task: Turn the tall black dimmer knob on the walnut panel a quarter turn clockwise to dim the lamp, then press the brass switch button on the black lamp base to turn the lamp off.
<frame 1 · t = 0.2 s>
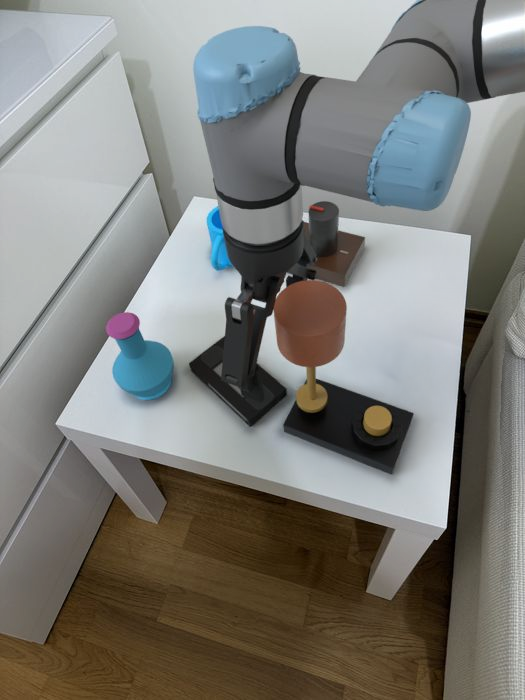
hand: (277, 353, 65), 15 cm above the table, tool pointing down, fingers open, 13 cm apart
dimmer panel: (323, 259, 94), on the table
switch: (377, 420, 69), point 5 cm above the table, slide at 0.1 cm
lamp: (311, 399, 73), resting on lamp base
lamp base: (347, 426, 74), on the table
vhs tape: (237, 383, 80), on the table
perfume bottle: (151, 382, 82), on the table
dimmer: (323, 228, 88), point 7 cm above the table, hinge at 0.0°
mug: (231, 259, 96), on the table
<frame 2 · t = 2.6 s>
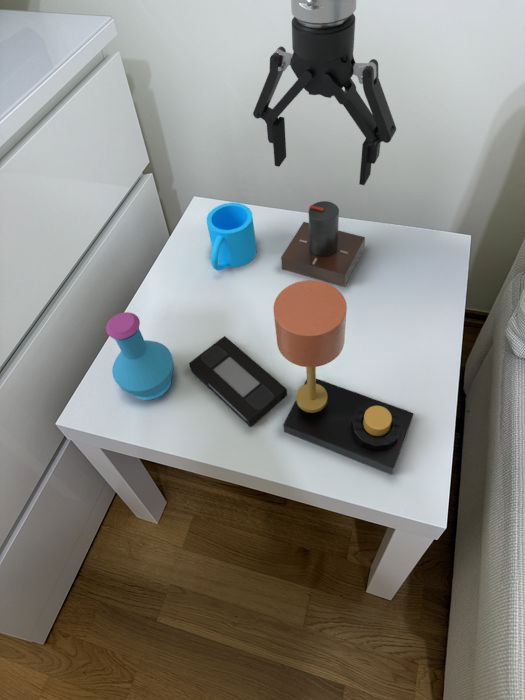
hand: (321, 170, 78), 19 cm above the table, tool pointing down, fingers open, 13 cm apart
nothing on the table moved.
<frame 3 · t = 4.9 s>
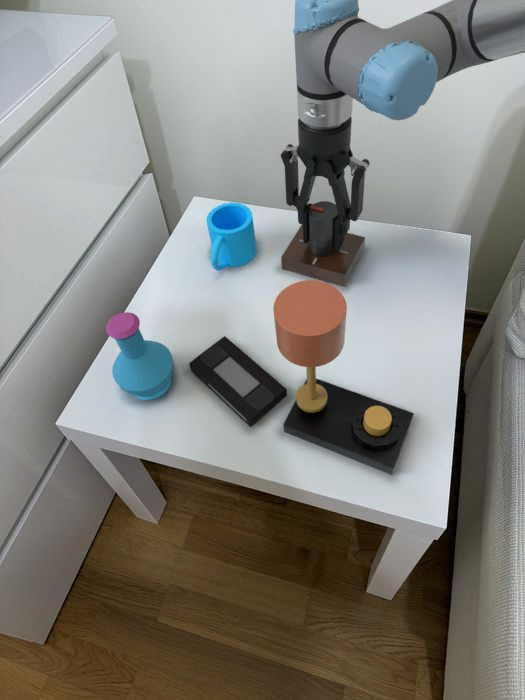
hand: (323, 241, 91), 4 cm above the table, tool pointing down, fingers closed on dimmer, 5 cm apart
dimmer: (323, 228, 88), point 7 cm above the table, hinge at 0.0°, touching gripper
everything else where it was.
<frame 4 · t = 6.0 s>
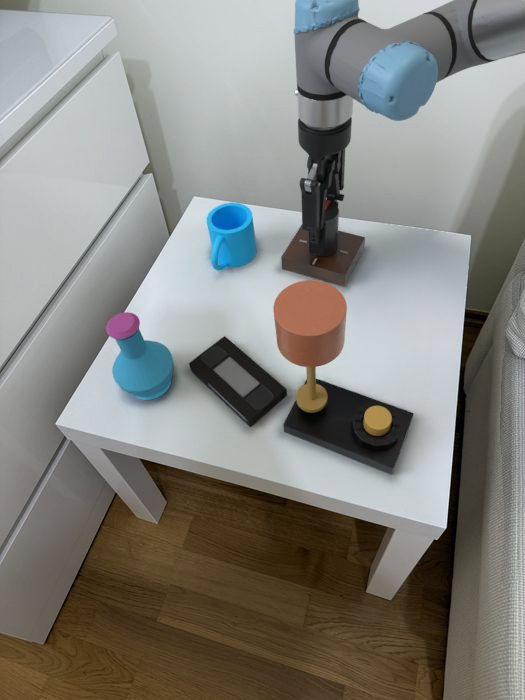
hand: (323, 241, 91), 4 cm above the table, tool pointing down, fingers closed on dimmer, 5 cm apart
dimmer: (323, 228, 88), point 7 cm above the table, hinge at -89.4°, touching gripper
everything else where it was.
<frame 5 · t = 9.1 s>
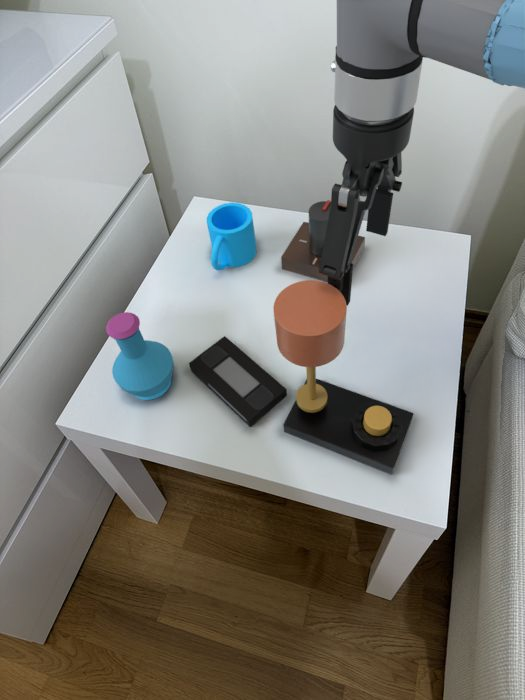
hand: (358, 264, 66), 19 cm above the table, tool pointing down, fingers open, 12 cm apart
dimmer: (323, 228, 88), point 7 cm above the table, hinge at -89.5°
everything else where it was.
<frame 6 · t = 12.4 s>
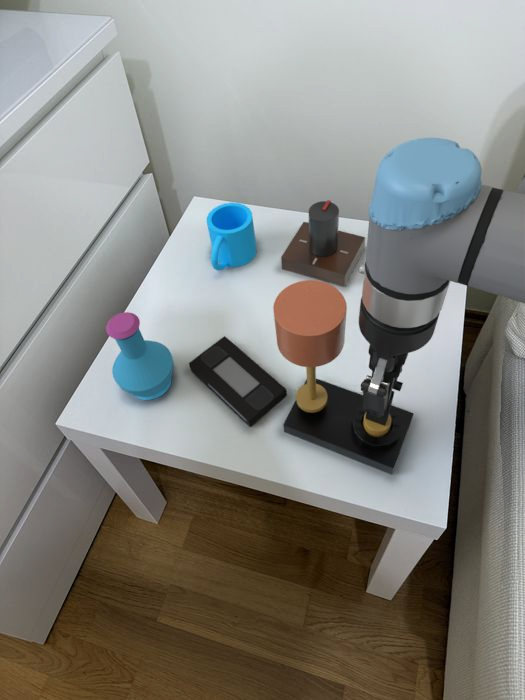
hand: (376, 417, 68), 5 cm above the table, tool pointing down, fingers closed
switch: (376, 422, 69), point 4 cm above the table, slide at -0.4 cm, touching gripper
everything else where it was.
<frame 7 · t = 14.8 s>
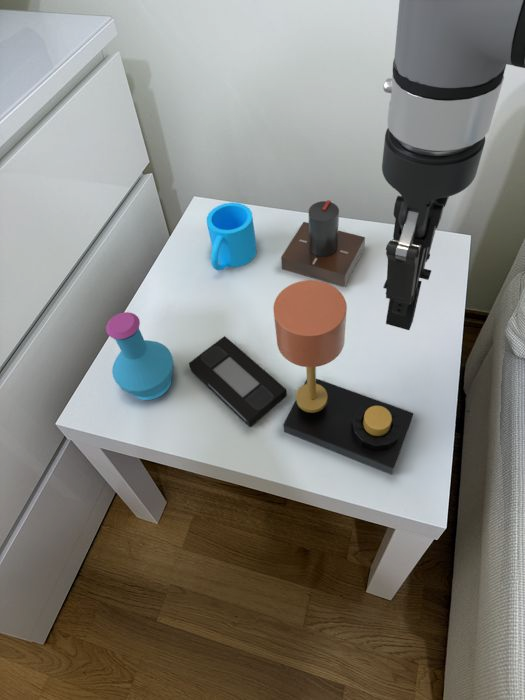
hand: (399, 322, 59), 20 cm above the table, tool pointing down, fingers closed
switch: (377, 420, 69), point 5 cm above the table, slide at 0.1 cm
everything else where it was.
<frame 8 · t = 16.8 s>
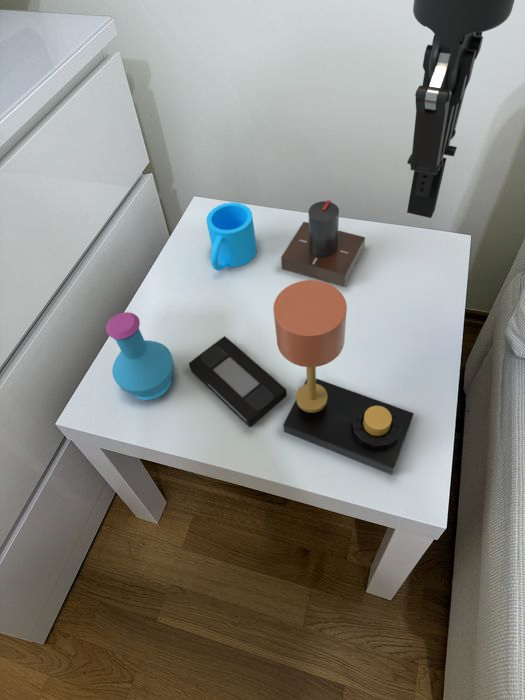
hand: (420, 211, 57), 28 cm above the table, tool pointing down, fingers closed
nothing on the table moved.
at the end: dimmer at -90° (first picture: +0°); switch pushed in 1.0 cm at the most during the clip, back to where it started at the end; switch slide at 0.1 cm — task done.
